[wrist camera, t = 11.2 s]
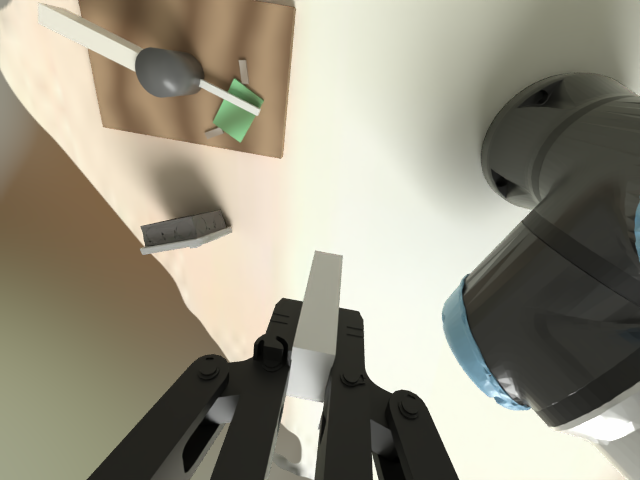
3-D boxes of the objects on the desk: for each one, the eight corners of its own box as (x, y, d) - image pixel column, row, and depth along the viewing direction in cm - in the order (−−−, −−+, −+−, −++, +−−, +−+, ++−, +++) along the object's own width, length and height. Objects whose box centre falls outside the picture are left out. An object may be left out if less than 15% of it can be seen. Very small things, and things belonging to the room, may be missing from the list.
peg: (266, 93, 35) (251, 96, 30) (254, 129, 37) (238, 137, 32) (85, 0, 33) (34, -15, 28) (83, 43, 35) (35, 37, 30)
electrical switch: (182, 240, 48) (144, 266, 40) (169, 209, 47) (127, 231, 38) (235, 230, 47) (207, 256, 38) (224, 198, 45) (192, 218, 36)
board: (295, 9, 32) (293, 6, 31) (282, 156, 40) (280, 159, 39) (81, -27, 33) (69, -31, 32) (109, 125, 41) (100, 127, 39)
